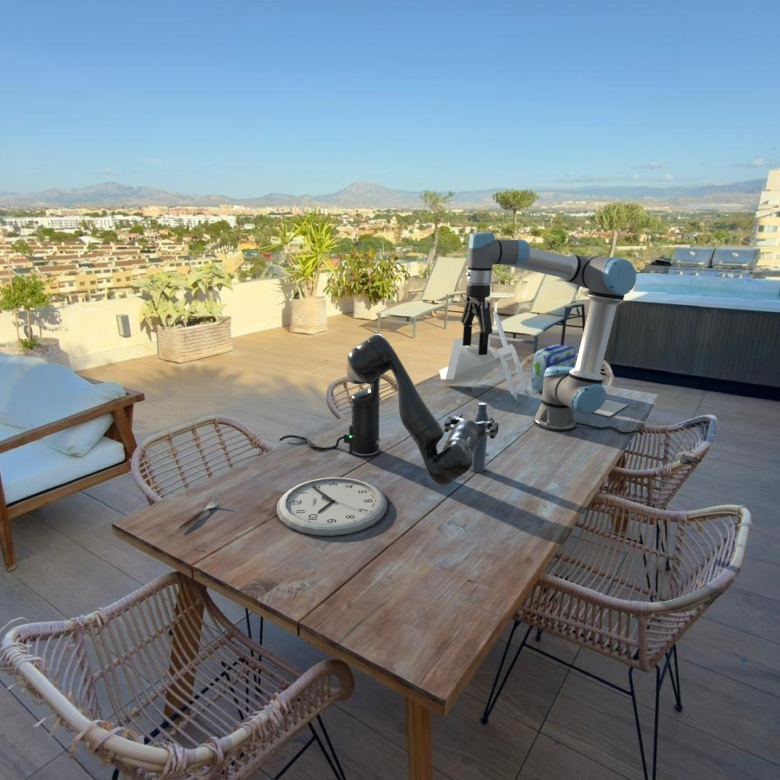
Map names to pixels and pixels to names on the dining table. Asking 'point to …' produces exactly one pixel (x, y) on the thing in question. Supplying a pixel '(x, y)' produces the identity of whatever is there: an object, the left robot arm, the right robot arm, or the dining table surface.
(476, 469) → the bottle
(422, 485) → the dining table surface
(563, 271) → the right robot arm
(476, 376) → the white plastic object
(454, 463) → the left robot arm
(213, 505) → the fork
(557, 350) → the lunch box
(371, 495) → the wall clock
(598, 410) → the invitation card
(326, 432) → the dining table surface
